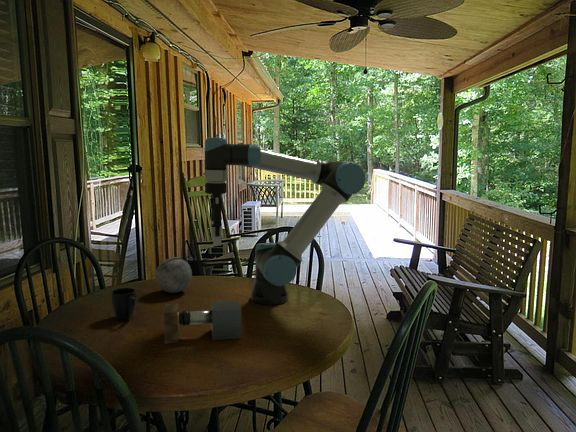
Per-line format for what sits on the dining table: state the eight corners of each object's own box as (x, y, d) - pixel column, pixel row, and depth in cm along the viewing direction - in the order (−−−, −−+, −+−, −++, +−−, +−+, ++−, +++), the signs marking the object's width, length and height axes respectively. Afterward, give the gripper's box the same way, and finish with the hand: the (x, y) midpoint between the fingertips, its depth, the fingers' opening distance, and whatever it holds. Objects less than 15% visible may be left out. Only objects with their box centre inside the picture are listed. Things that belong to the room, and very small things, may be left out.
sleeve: (238, 327, 150) (238, 300, 148) (241, 338, 141) (241, 309, 140) (211, 329, 148) (211, 301, 146) (212, 340, 139) (212, 310, 138)
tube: (217, 320, 146) (217, 306, 145) (218, 326, 141) (218, 311, 140) (173, 323, 143) (173, 309, 142) (172, 329, 138) (172, 314, 137)
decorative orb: (181, 285, 198) (181, 252, 196) (198, 292, 187) (198, 258, 185) (150, 291, 188) (149, 256, 186) (166, 300, 177) (165, 263, 175)
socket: (178, 331, 146) (178, 302, 144) (178, 342, 137) (177, 312, 136) (166, 332, 145) (165, 303, 143) (164, 343, 136) (163, 313, 135)
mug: (121, 326, 149) (120, 298, 148) (108, 316, 158) (107, 290, 157) (144, 320, 155) (144, 294, 153) (131, 311, 164) (130, 286, 162)
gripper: (204, 180, 167) (204, 236, 170) (206, 184, 143) (206, 249, 146) (224, 180, 169) (224, 235, 172) (229, 184, 145) (229, 248, 148)
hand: (216, 241), depth 159 cm, fingers open, 13 cm apart
